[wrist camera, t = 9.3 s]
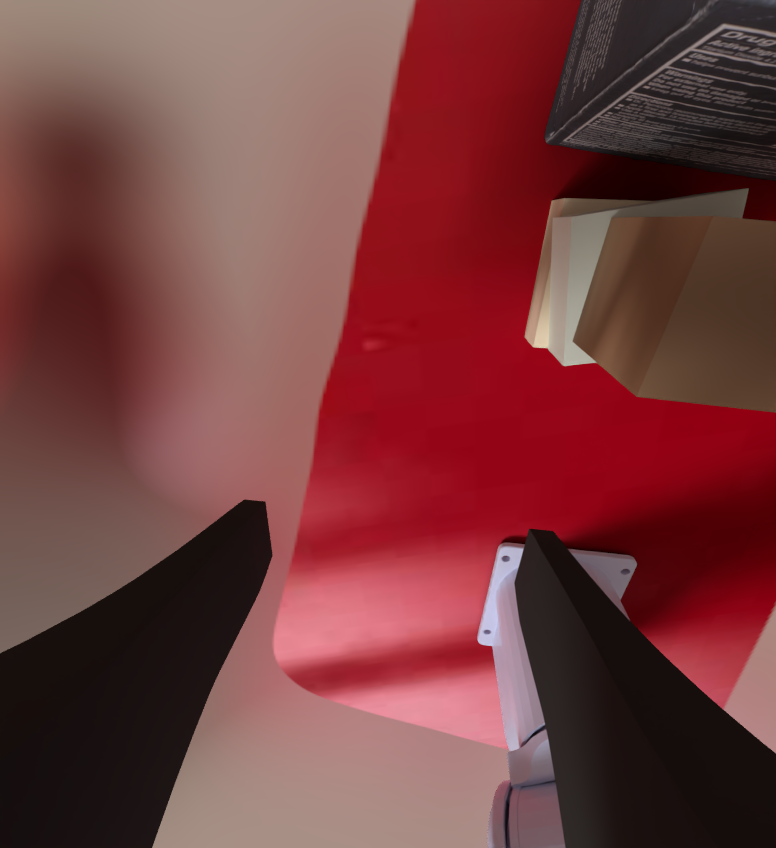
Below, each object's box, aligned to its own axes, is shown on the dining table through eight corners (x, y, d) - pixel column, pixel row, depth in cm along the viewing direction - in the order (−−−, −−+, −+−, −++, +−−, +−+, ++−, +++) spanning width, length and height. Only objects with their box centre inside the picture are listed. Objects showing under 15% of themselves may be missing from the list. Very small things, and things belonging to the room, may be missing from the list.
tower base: (642, 341, 18) (667, 355, 16) (522, 334, 18) (533, 347, 16) (689, 206, 15) (726, 203, 14) (548, 201, 16) (564, 198, 14)
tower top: (677, 334, 16) (711, 350, 14) (547, 349, 16) (563, 365, 15) (703, 193, 13) (748, 188, 12) (552, 217, 14) (571, 216, 12)
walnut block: (685, 353, 14) (802, 415, 9) (572, 341, 14) (636, 396, 10) (742, 229, 12) (923, 234, 8) (611, 217, 12) (713, 215, 8)
